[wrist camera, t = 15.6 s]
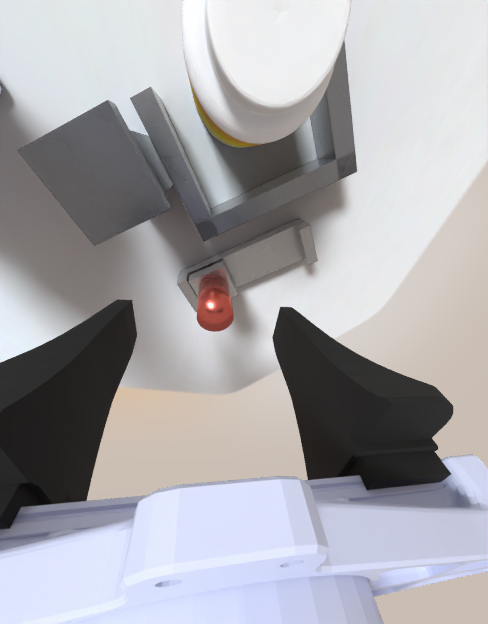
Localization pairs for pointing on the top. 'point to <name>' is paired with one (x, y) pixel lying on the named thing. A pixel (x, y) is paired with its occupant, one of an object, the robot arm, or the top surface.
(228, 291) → the lever
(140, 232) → the top surface
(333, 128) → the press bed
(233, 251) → the lever rail
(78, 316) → the top surface
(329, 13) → the supplement bottle
